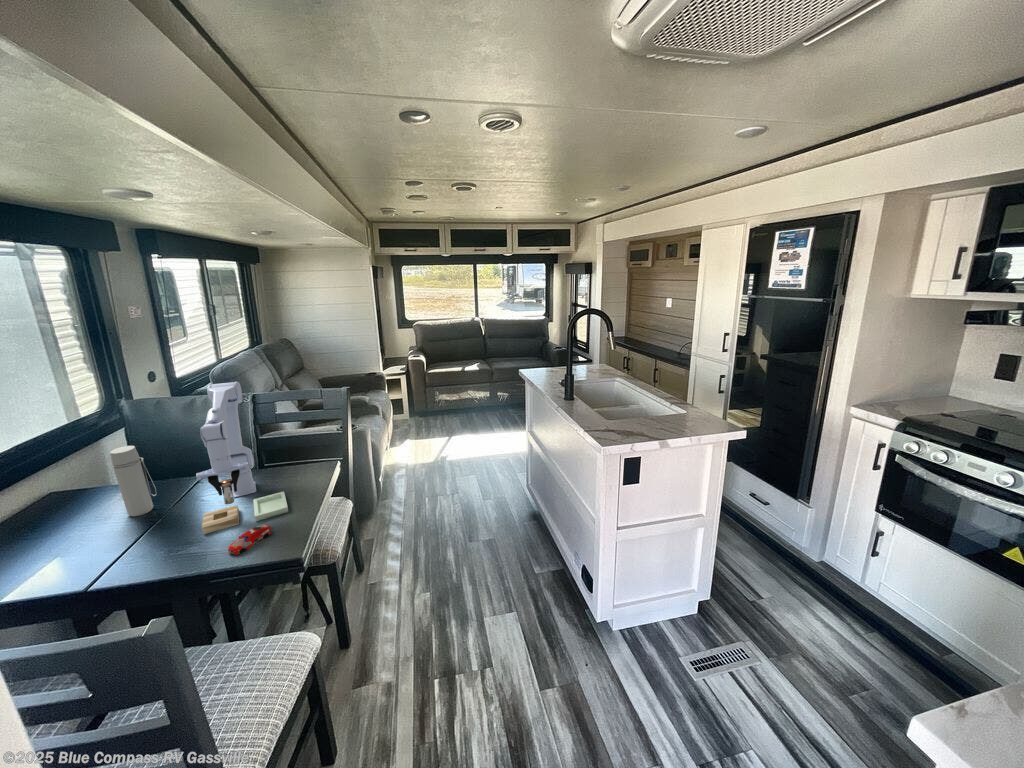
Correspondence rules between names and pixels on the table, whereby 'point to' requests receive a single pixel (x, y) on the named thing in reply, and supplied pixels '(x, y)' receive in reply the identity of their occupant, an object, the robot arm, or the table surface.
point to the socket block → (220, 519)
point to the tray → (270, 506)
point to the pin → (227, 490)
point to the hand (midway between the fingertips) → (228, 492)
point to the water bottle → (132, 480)
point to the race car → (249, 539)
